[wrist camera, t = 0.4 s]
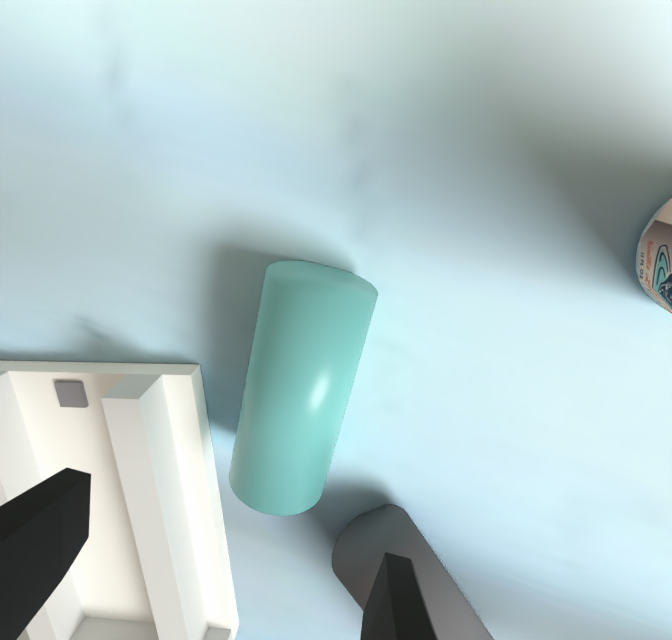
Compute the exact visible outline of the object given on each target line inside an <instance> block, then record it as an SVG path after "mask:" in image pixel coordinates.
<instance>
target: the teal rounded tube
mask: <svg viewBox="0 0 672 640" xmlns="http://www.w3.org/2000/svg"><path fill="white" fill-rule="evenodd" d="M377 296H378V292H377V290H376V288H375V287H374V286H373V285H372V284H371V283H369V282H368V281H366V280H365V279H363V278H361V277H359V276H357V275H355V274H352V273H350V272H347V271H344V270H340V269H336V268H332V267H328V266H324V265H320V264H316V263H312V262H306V261H279V262H275V263H272V264H270V265H268V266H267V268H266V272H265V277H264V283H263V289H262V294H261V300H260V305H259V311H258V316H257V322H256V327H255V333H254V339H253V344H252V350H251V355H250V361H249V366H248V372H247V377H246V383H245V388H244V394H243V400H242V405H241V411H240V416H239V422H238V427H237V433H236V438H235V444H234V449H233V455H232V461H231V466H230V472H229V482H230V486H231V488H232V490H233V492H234V493H235V495H236V496H237V497H238V498H239V499H240V500H241V501H242V502H243V503H244V504H246V505H247V506H249V507H250V508H252V509H254V510H256V511H259V512H262V513H265V514H269V515H276V516H288V515H295V514H298V513H302V512H304V511H306V510H308V509H310V508H311V507H313V506H314V505H315V504H316V503H317V502H318V500H319V499H320V497H321V495H322V492H323V489H324V485H325V481H326V478H327V474H328V471H329V467H330V464H331V460H332V456H333V453H334V449H335V446H336V442H337V439H338V435H339V432H340V428H341V424H342V421H343V417H344V414H345V410H346V407H347V403H348V399H349V396H350V392H351V389H352V385H353V382H354V378H355V375H356V371H357V367H358V364H359V360H360V357H361V353H362V350H363V346H364V342H365V339H366V335H367V332H368V328H369V325H370V321H371V318H372V314H373V310H374V307H375V303H376V300H377Z"/></svg>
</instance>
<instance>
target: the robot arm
mask: <svg viewBox="0 0 672 640" xmlns="http://www.w3.org/2000/svg"><path fill="white" fill-rule="evenodd" d="M90 492H91V474H90V473H86V472H82V471H79V470H75V469H71V468H65V469H63V470H61V471H59V472H58V473H56V474H54V475H52V476H51V477H49V478H47V479H45V480H44V481H42V482H40V483H39V484H37V485H35V486H34V487H32V488H30V489H28V490H27V491H25V492H23V493H22V494H20V495H18V496H16V497H15V498H13V499H11V500H10V501H8V502H6V503H4V504H3V505H1V506H0V640H17V638H18V637H19V636H20V634H21V633H22V632H23V631H24V629H25V628H26V627H27V625H28V624H29V623H30V622H31V620H32V619H33V618H34V616H35V615H36V614H37V613H38V611H39V610H40V609H41V607H42V606H43V605H44V603H45V602H46V601H47V600H48V598H49V597H50V596H51V594H52V593H53V592H54V590H55V589H56V588H57V586H58V585H59V584H60V582H61V581H62V580H63V578H64V577H65V575H66V573H67V572H68V570H69V569H70V567H71V565H72V564H73V562H74V561H75V559H76V557H77V556H78V554H79V552H80V551H81V549H82V547H83V546H84V544H85V542H86V541H87V539H88V537H89V518H90ZM360 640H438V638H437V635H436V632H435V630H434V627H433V624H432V621H431V618H430V615H429V612H428V609H427V606H426V603H425V600H424V597H423V594H422V591H421V588H420V584H419V581H418V578H417V574H416V571H415V567H414V563H413V562H412V560H411V559H410V558H406V557H402V556H399V555H395V554H391V553H387V552H385V554H384V557H383V559H382V562H381V565H380V568H379V570H378V573H377V576H376V579H375V581H374V584H373V587H372V589H371V592H370V595H369V598H368V600H367V603H366V606H365V609H364V613H363V621H362V630H361V639H360Z"/></svg>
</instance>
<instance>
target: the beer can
mask: <svg viewBox="0 0 672 640" xmlns="http://www.w3.org/2000/svg"><path fill="white" fill-rule="evenodd" d="M636 271H637V275H638V278H639V282H640V284H641V286H642V287H643V289H644V291H645V292H646V294H647V295H648V296H649V297H650V298H651V299H652V300H654V301H655V302H656V303H657V304H658V305H659V306H661V307H662V308H664V309H665V310H667V311H668V312H670V313H672V198H670V199H669V200H668V201H667V202H666V203H665V204H664V205H663V206H662V207H661V208H659V210H658V211H657V212H656V213H655V214H654V215H653V217H652V218H651V219H650V221H649V222H648V224H647V226H646V227H645V229H644V231H643V233H642V235H641V238H640V241H639V244H638V247H637V254H636Z"/></svg>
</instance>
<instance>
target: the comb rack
mask: <svg viewBox="0 0 672 640" xmlns="http://www.w3.org/2000/svg"><path fill="white" fill-rule="evenodd" d="M65 468H71V469H75V470H79V471H82V472H86V473H90V474H91V492H90V518H89V537H88V539H87V541H86V542H85V544H84V546H83V547H82V549H81V551H80V552H79V554H78V556H77V557H76V559H75V561H74V562H73V564H72V565H71V567H70V569H69V570H68V572H67V573H66V575H65V577H64V578H63V580H62V581H61V582H60V584H59V585H58V586H57V588H56V589H55V590H54V592H53V593H52V594H51V596H50V597H49V598H48V600H47V601H46V602H45V603H44V605H43V606H42V607H41V609H40V610H39V611H38V613H37V614H36V615H35V616H34V618H33V619H32V620H31V622H30V623H29V624H28V625H27V627H26V628H25V629H24V631H23V632H22V633H21V634H20V636H19V637H18V638H17V640H234V639H235V636H236V633H237V630H238V627H239V620H238V613H237V607H236V600H235V593H234V587H233V580H232V574H231V567H230V560H229V554H228V547H227V540H226V534H225V527H224V521H223V514H222V507H221V501H220V494H219V487H218V481H217V474H216V467H215V461H214V454H213V448H212V441H211V434H210V428H209V421H208V414H207V408H206V401H205V395H204V388H203V381H202V375H201V368H200V365H199V364H150V363H100V362H50V361H0V506H1V505H3V504H4V503H6V502H8V501H10V500H11V499H13V498H15V497H16V496H18V495H20V494H22V493H23V492H25V491H27V490H28V489H30V488H32V487H34V486H35V485H37V484H39V483H40V482H42V481H44V480H45V479H47V478H49V477H51V476H52V475H54V474H56V473H58V472H59V471H61V470H63V469H65Z"/></svg>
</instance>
